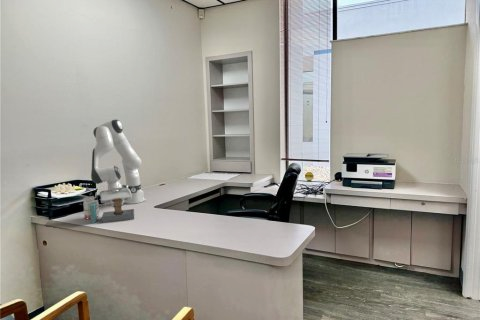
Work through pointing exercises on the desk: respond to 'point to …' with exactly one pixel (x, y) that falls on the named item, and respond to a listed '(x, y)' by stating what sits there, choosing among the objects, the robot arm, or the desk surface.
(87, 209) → the ink cartridge box
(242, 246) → the desk surface
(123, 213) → the metal bore block
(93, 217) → the teal flat bit
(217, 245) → the desk surface
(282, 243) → the desk surface
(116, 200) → the walnut square bit
